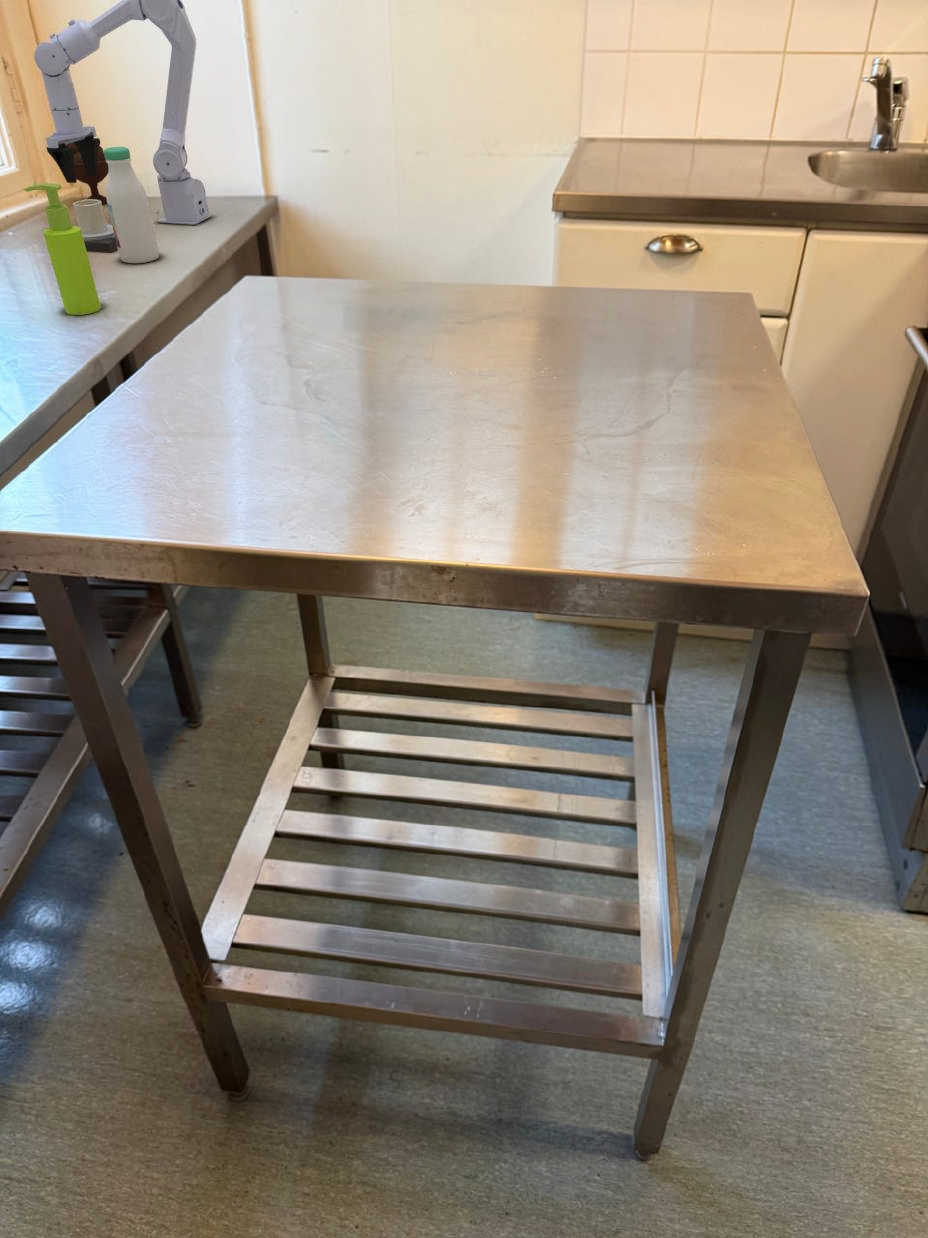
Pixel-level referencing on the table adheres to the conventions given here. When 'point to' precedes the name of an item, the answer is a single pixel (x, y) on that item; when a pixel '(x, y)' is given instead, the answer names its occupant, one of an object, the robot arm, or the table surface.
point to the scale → (101, 241)
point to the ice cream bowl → (89, 179)
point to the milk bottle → (129, 209)
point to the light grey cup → (90, 216)
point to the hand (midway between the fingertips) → (82, 178)
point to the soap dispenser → (68, 256)
